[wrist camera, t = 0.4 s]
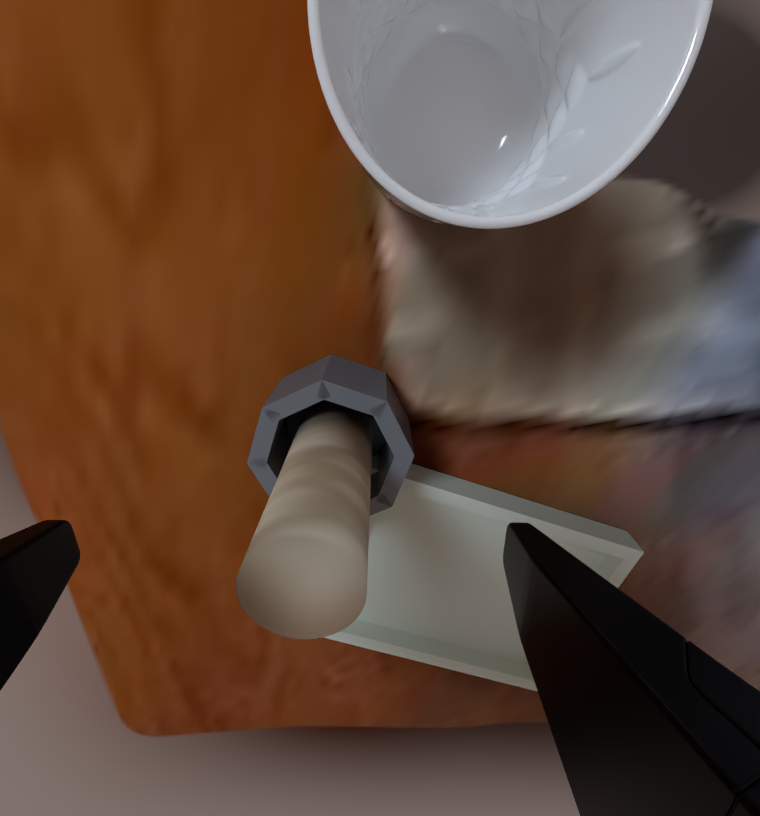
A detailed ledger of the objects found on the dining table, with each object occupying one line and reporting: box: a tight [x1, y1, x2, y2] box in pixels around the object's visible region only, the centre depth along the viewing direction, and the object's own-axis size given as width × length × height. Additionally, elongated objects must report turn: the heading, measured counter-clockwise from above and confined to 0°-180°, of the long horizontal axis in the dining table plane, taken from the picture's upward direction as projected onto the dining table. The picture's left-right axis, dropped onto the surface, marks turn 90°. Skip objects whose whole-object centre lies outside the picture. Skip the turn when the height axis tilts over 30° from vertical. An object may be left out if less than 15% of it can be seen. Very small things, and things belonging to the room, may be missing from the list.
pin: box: [236, 400, 373, 639], centre depth 17 cm, size 4×4×11 cm
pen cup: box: [247, 354, 414, 515], centre depth 21 cm, size 7×7×4 cm
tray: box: [324, 453, 644, 691], centre depth 25 cm, size 16×12×2 cm
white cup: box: [307, 0, 713, 229], centre depth 13 cm, size 8×8×10 cm
